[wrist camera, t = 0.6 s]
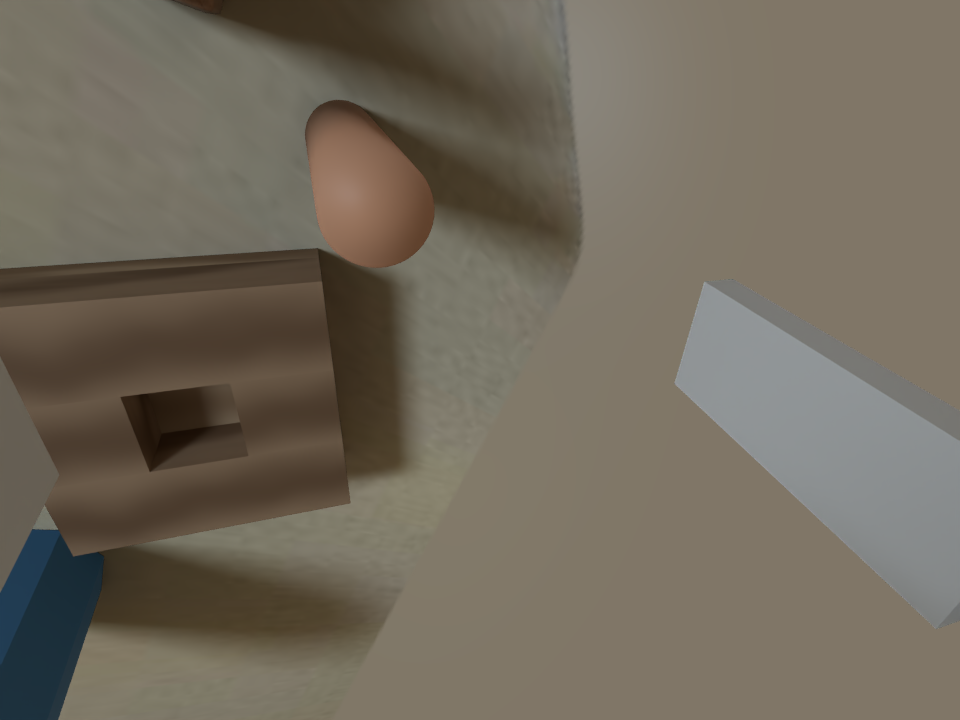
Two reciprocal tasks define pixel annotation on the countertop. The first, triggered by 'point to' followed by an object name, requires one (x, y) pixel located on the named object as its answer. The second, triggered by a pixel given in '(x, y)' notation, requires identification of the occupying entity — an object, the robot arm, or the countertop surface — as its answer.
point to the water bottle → (44, 624)
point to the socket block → (177, 392)
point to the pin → (365, 188)
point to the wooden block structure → (204, 5)
